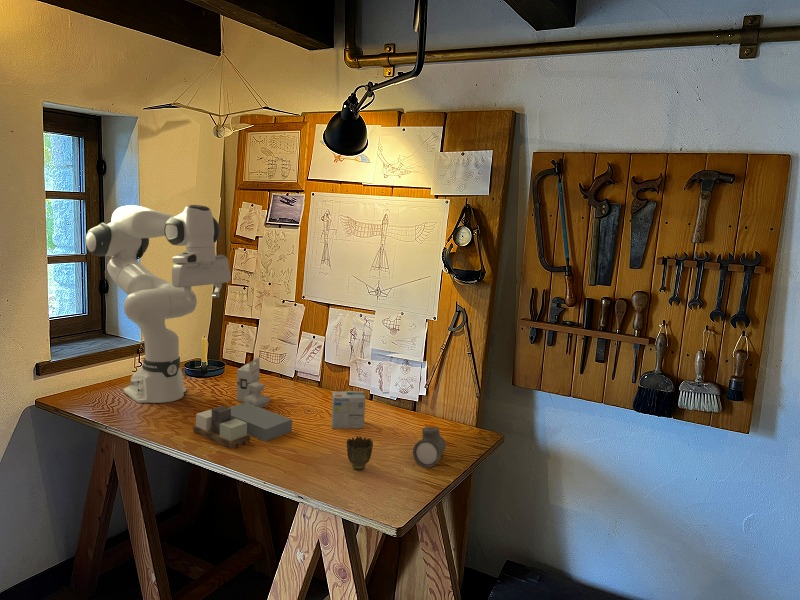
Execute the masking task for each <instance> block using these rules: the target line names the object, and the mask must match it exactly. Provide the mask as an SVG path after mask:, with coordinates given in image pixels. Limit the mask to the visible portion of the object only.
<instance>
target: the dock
mask: <svg viewBox="0 0 800 600" xmlns="http://www.w3.org/2000/svg"><path fill="white" fill-rule="evenodd" d="M228 408H230V409H231V420H233V419H239V420H241V421H244V422H246V423H247V435H249V436H250V437H253V438H255V439H258V440H260V441H262V442H269V441H271V440H273V439H276V438H278V437H281V436H283V435H286V434H289V433H292V432H293V419H292V418H289V417H286V416H284V415H281V414H278V413H275V412H272V411H270V410H268V409H264V407H262V408H260V407H257V406H254V405H252V404H249V403H246V402H245V403H244V402H241V403H239V404H235V405H233V406H230V407H228Z"/></svg>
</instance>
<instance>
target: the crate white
mask: <svg viewBox="0 0 800 600" xmlns="http://www.w3.org/2000/svg"><path fill="white" fill-rule="evenodd" d="M212 409H213V408H211V409H207V410H204V411H201V412H198V413H196V414H195V425H196V426H197V427H199V428H201V429H203V430H206V431H207V430H210V429H212Z"/></svg>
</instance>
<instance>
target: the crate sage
mask: <svg viewBox="0 0 800 600" xmlns="http://www.w3.org/2000/svg"><path fill="white" fill-rule="evenodd" d="M247 435H248V434H247V423H246V422H244V421H241V420H239V419H233V420H230V421H227V422H224V423H221V424H220V437H222V438H224V439H227V440H229V441H233V440H236V439H238V438H241V437H244V436H247Z"/></svg>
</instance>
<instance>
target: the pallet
mask: <svg viewBox="0 0 800 600" xmlns="http://www.w3.org/2000/svg"><path fill="white" fill-rule="evenodd" d="M211 409H212V429H210V430H207V431H206V430H203V429H201V428H199V427H197V426H196V424H194V425H193V426H192V430H193V432H194V434H196V435H199V436H200V437H203V438H205V439H207V440H210V441H212V442H214V443H216V444H219V445H220V446H223V447H225V448H227V449H229V450H234V449H236V447H242V446H243V444H244V445H246V444H249V443H250V440H251V439H250V438H251V435H248V434H247V436H244V437H241V438H238V439H236V440H233V441H229V440H227V439H224V438H222V437H220V424H221V423H224V422H227V421H230V420H231V409H230V408H229V407H227V406H224V405H220V406H216V407H213V408H211Z"/></svg>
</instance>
